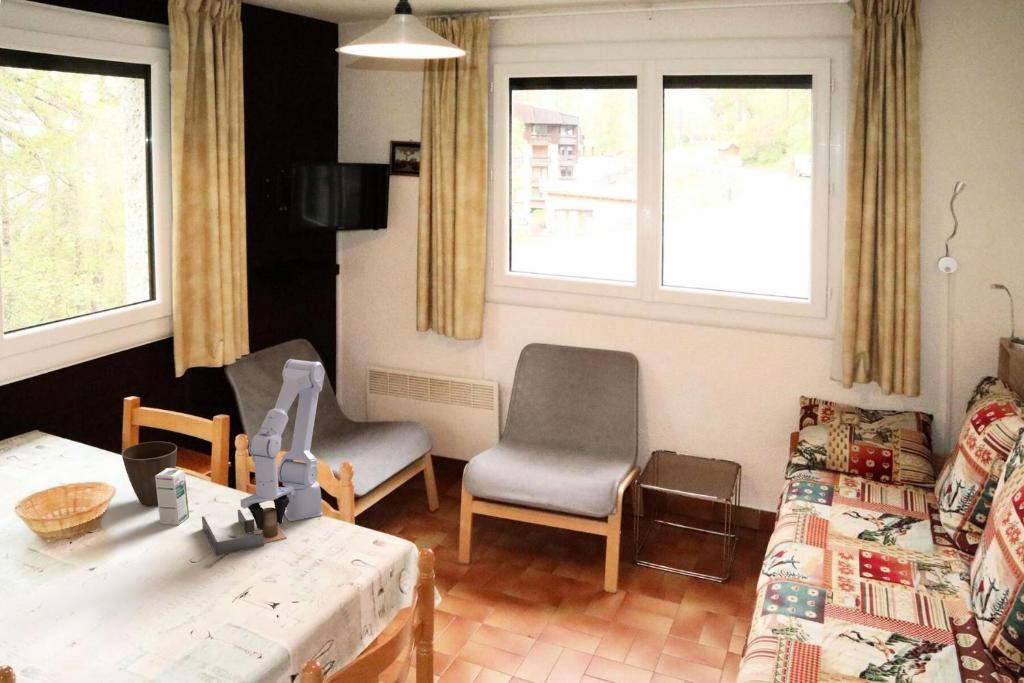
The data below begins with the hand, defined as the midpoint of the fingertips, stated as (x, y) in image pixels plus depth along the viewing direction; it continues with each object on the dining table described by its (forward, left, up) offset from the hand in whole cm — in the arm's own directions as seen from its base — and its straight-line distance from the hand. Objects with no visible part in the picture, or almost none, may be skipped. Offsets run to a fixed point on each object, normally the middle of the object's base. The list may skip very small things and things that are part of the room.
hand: (269, 525), depth 252 cm
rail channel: (+9, -4, -3) cm, 10 cm away
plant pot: (+24, -38, -3) cm, 45 cm away
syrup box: (+21, -22, -3) cm, 31 cm away
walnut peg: (0, 0, -3) cm, 3 cm away
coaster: (0, 0, -3) cm, 3 cm away
